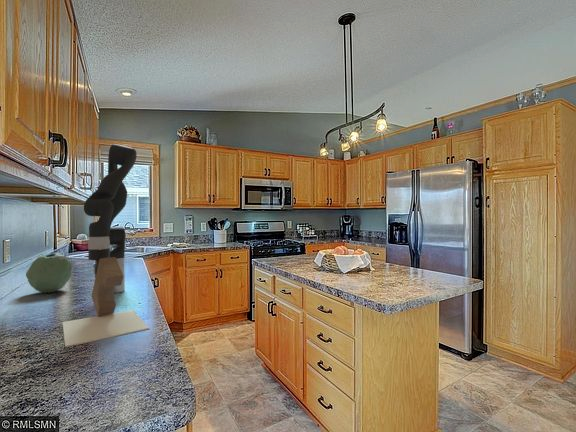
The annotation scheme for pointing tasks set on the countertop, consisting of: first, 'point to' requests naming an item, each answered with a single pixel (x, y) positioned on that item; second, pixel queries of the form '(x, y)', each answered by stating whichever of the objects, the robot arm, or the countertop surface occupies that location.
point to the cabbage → (49, 272)
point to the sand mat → (102, 327)
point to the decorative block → (106, 285)
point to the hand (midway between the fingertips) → (99, 290)
